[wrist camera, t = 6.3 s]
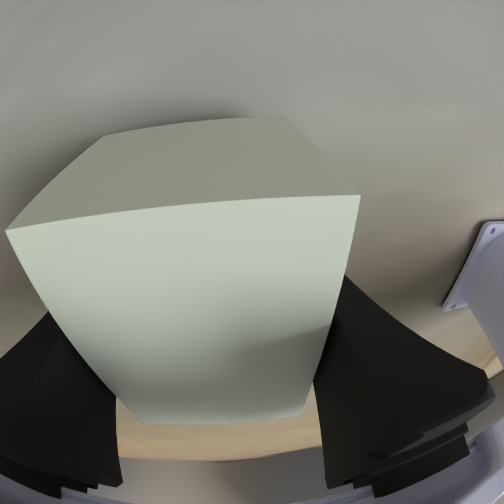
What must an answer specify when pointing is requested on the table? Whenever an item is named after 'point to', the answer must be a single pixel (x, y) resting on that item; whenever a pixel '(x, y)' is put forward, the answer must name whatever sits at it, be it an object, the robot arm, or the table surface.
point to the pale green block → (195, 265)
